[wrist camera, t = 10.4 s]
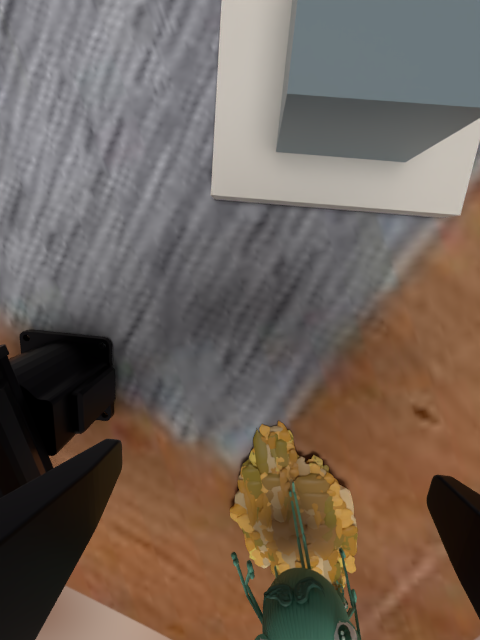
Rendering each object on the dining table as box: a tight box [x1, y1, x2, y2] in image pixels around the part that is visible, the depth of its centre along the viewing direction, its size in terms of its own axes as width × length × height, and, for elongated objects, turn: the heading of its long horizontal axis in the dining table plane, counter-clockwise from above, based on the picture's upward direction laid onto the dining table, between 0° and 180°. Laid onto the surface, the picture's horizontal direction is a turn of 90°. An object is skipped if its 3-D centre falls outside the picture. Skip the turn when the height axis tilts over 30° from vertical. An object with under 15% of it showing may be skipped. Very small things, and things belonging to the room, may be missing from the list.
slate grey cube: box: [276, 0, 480, 162], centre depth 12 cm, size 7×7×6 cm
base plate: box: [211, 0, 480, 218], centre depth 14 cm, size 14×12×4 cm
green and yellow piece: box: [230, 421, 361, 640], centre depth 17 cm, size 10×18×15 cm, turn 14°
